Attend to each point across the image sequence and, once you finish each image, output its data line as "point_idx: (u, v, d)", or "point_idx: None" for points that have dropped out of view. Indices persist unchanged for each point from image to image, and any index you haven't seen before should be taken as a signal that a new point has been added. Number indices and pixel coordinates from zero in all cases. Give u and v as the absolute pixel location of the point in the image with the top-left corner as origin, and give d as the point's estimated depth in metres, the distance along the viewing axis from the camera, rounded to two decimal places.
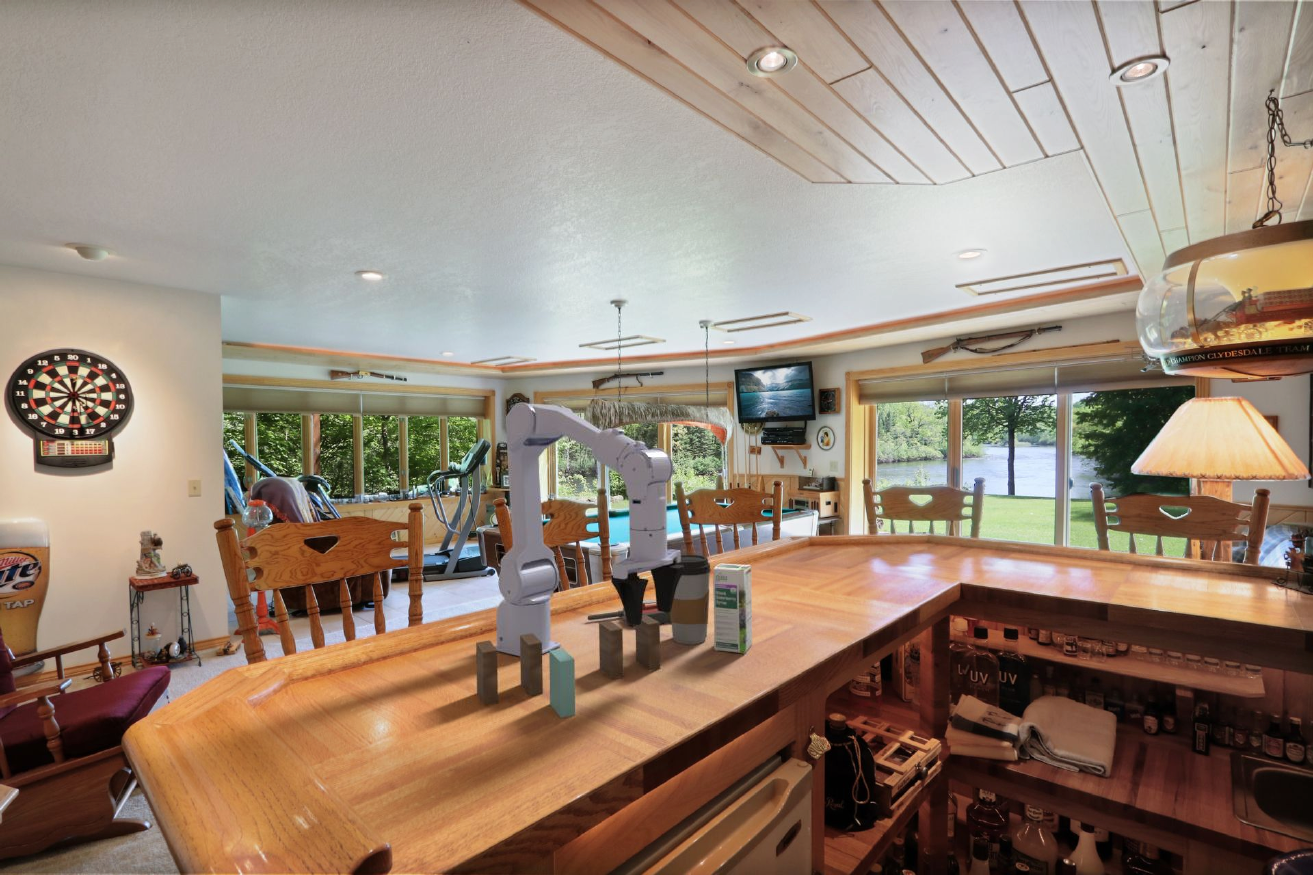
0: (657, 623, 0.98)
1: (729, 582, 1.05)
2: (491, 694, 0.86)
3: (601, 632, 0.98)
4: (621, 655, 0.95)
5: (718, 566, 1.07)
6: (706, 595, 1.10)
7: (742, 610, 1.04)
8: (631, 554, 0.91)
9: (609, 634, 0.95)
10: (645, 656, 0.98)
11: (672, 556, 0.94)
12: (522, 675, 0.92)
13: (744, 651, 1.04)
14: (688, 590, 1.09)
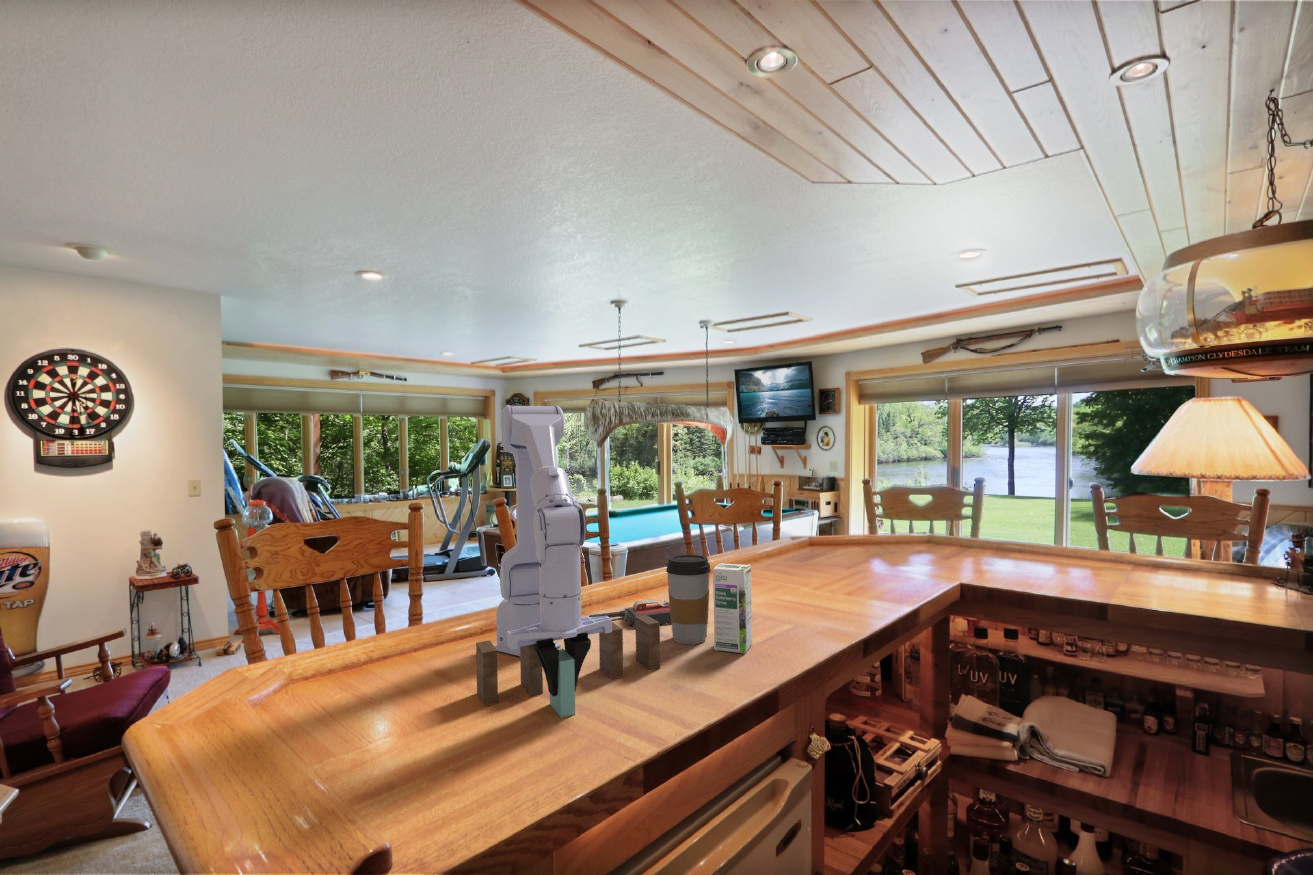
0: (657, 623, 0.98)
1: (729, 582, 1.05)
2: (491, 694, 0.86)
3: (601, 632, 0.98)
4: (621, 655, 0.95)
5: (718, 566, 1.07)
6: (706, 595, 1.10)
7: (742, 610, 1.04)
8: None
9: (609, 634, 0.95)
10: (645, 656, 0.98)
11: (590, 626, 0.84)
12: (522, 675, 0.92)
13: (744, 651, 1.04)
14: (688, 590, 1.09)
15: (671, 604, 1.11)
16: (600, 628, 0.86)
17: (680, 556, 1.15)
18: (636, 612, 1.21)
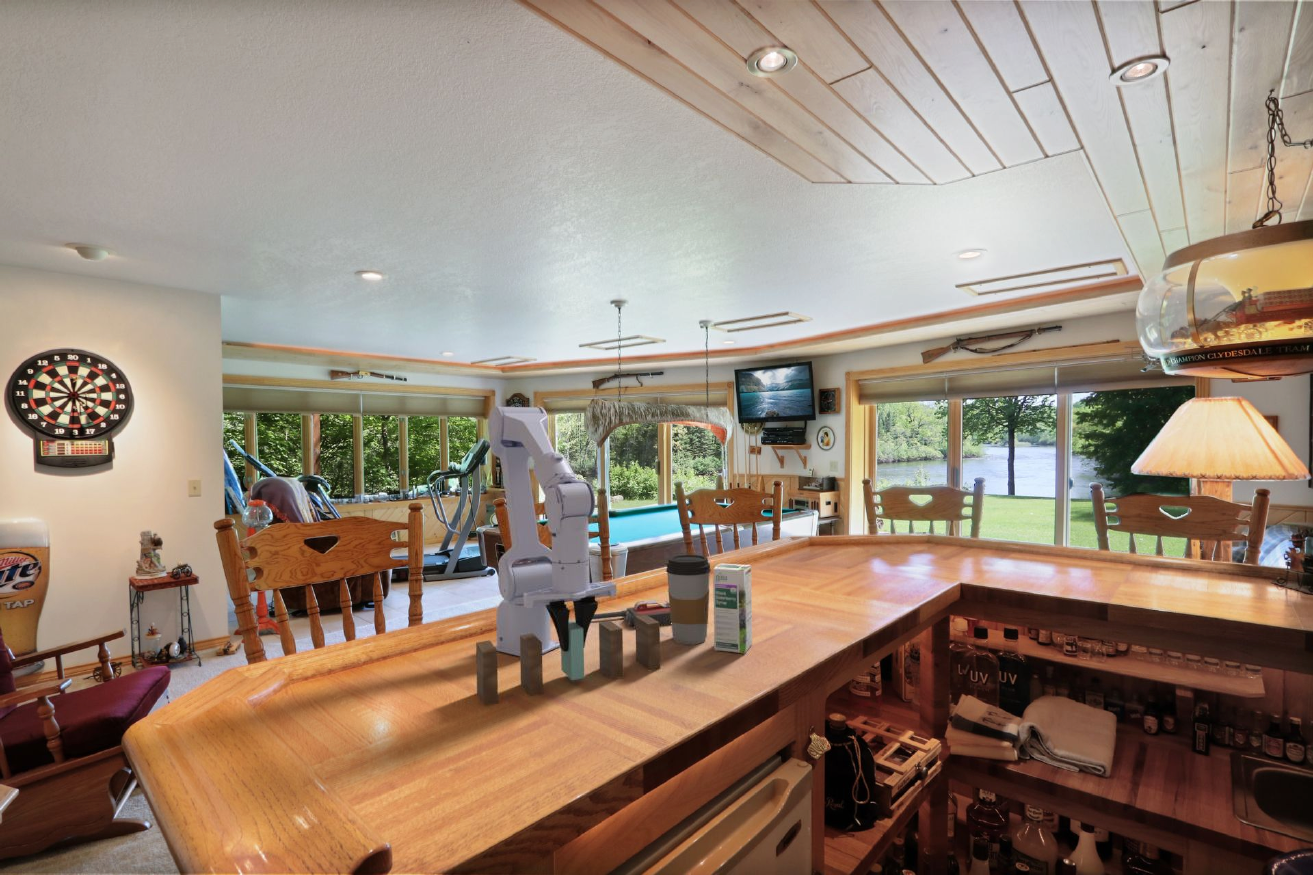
0: (657, 623, 0.98)
1: (729, 582, 1.05)
2: (491, 694, 0.86)
3: (601, 632, 0.98)
4: (621, 655, 0.95)
5: (718, 566, 1.07)
6: (706, 595, 1.10)
7: (742, 610, 1.04)
8: (552, 584, 0.94)
9: (609, 634, 0.95)
10: (645, 656, 0.98)
11: (597, 590, 0.94)
12: (522, 675, 0.92)
13: (744, 651, 1.04)
14: (688, 590, 1.09)
15: (671, 604, 1.11)
16: (606, 592, 0.97)
17: (680, 556, 1.15)
18: (637, 612, 1.21)
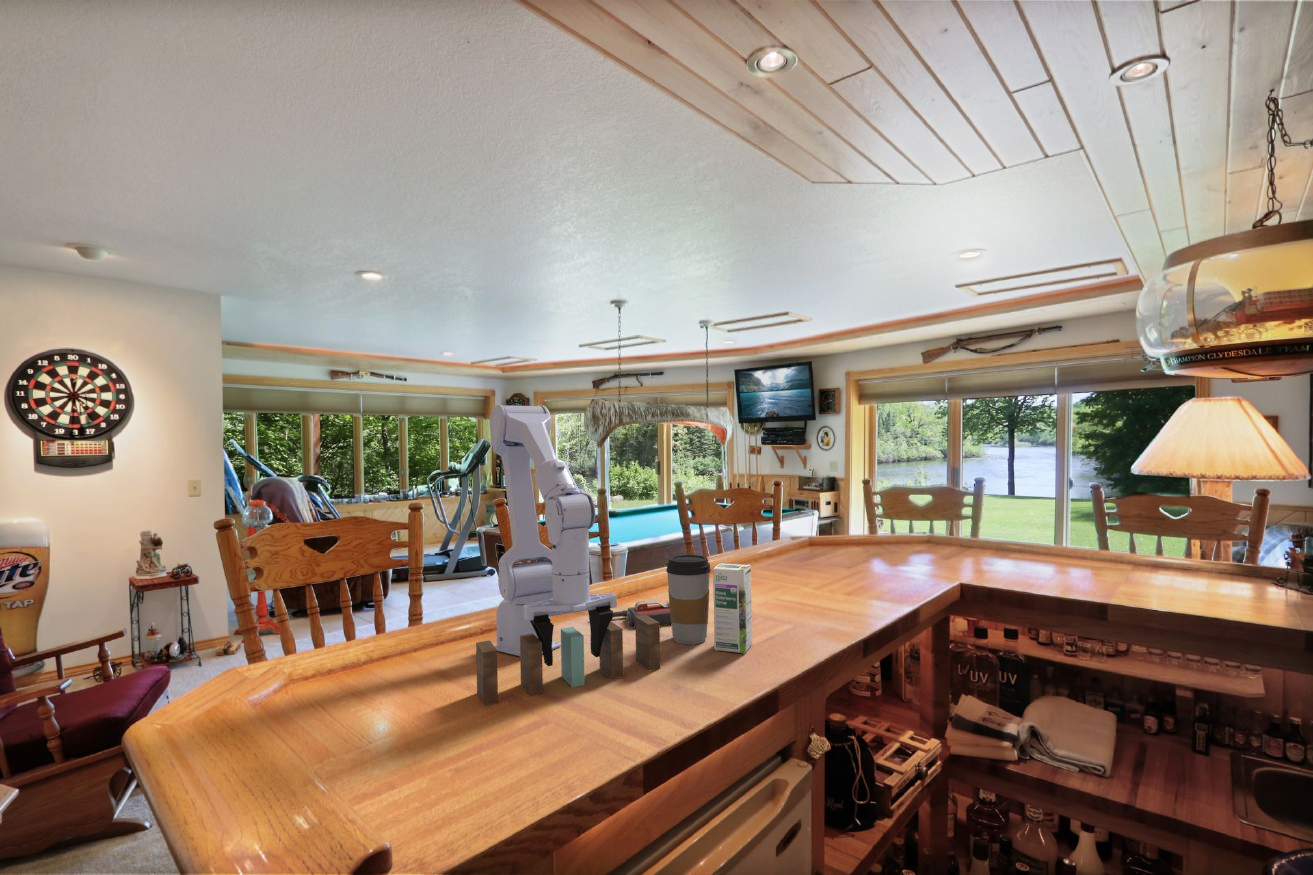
0: (657, 623, 0.98)
1: (729, 582, 1.05)
2: (491, 694, 0.86)
3: None
4: (621, 655, 0.95)
5: (718, 566, 1.07)
6: (706, 595, 1.10)
7: (742, 610, 1.04)
8: None
9: (609, 634, 0.95)
10: (645, 656, 0.98)
11: (597, 601, 0.94)
12: (522, 675, 0.92)
13: (744, 651, 1.04)
14: (688, 590, 1.09)
15: (671, 604, 1.11)
16: (606, 604, 0.97)
17: (680, 556, 1.15)
18: (637, 612, 1.21)
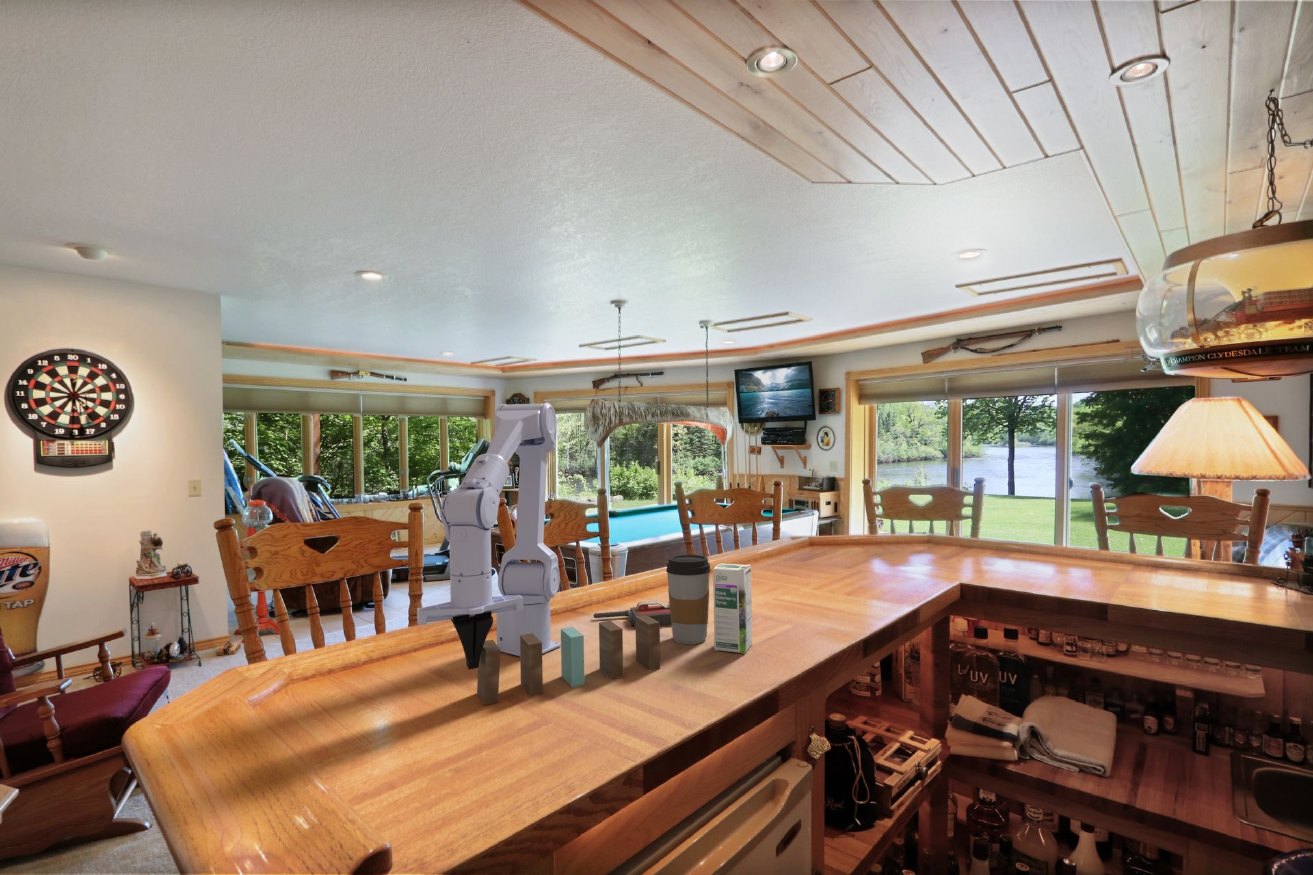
0: (657, 623, 0.98)
1: (729, 582, 1.05)
2: (492, 693, 0.86)
3: (601, 632, 0.98)
4: (621, 655, 0.95)
5: (718, 566, 1.07)
6: (706, 595, 1.10)
7: (742, 610, 1.04)
8: None
9: (609, 634, 0.95)
10: (645, 656, 0.98)
11: (499, 604, 0.87)
12: (522, 675, 0.92)
13: (744, 651, 1.04)
14: (688, 590, 1.09)
15: (671, 604, 1.11)
16: (512, 606, 0.90)
17: (680, 556, 1.15)
18: (637, 612, 1.21)
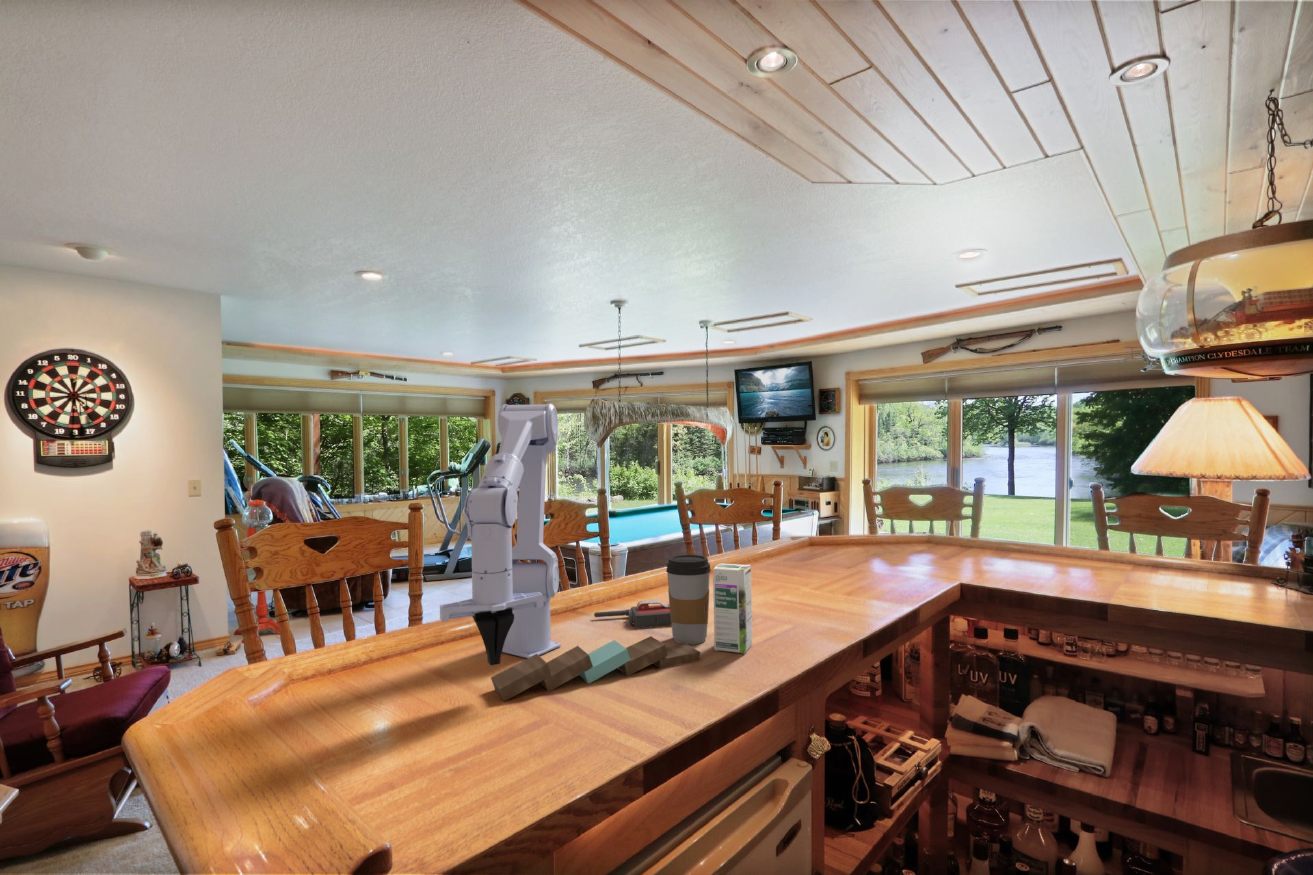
0: None
1: (729, 582, 1.05)
2: (511, 691, 0.87)
3: (646, 641, 1.01)
4: (645, 665, 0.97)
5: (718, 566, 1.07)
6: (706, 595, 1.10)
7: (742, 610, 1.04)
8: None
9: (659, 645, 0.99)
10: (667, 654, 1.00)
11: (520, 601, 0.88)
12: None
13: (744, 651, 1.04)
14: (688, 590, 1.09)
15: (671, 604, 1.11)
16: (532, 603, 0.91)
17: (680, 556, 1.15)
18: (637, 612, 1.21)
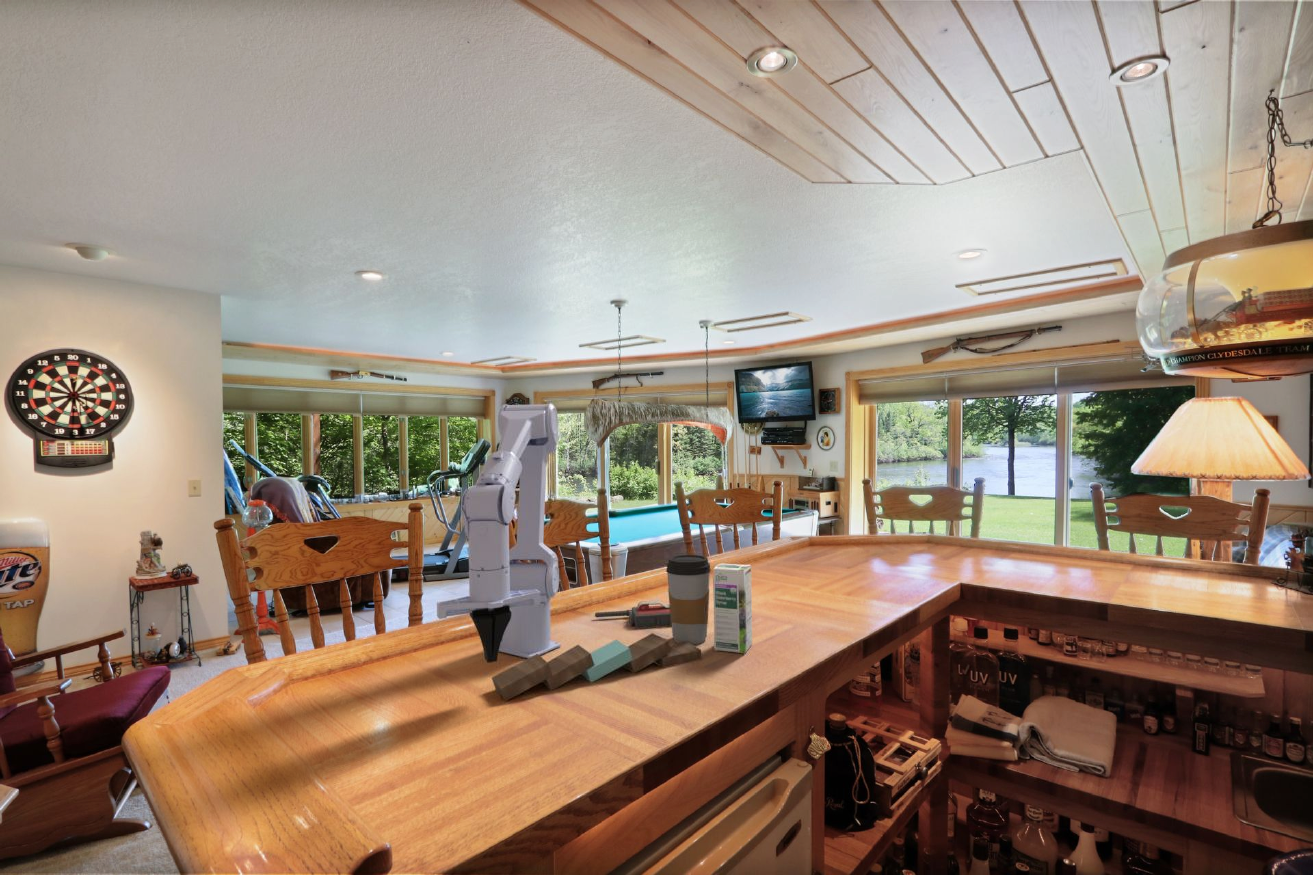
0: None
1: (729, 582, 1.05)
2: (512, 690, 0.87)
3: (649, 638, 1.02)
4: (650, 661, 0.98)
5: (718, 566, 1.07)
6: (706, 595, 1.10)
7: (742, 610, 1.04)
8: None
9: (662, 641, 1.00)
10: (668, 653, 1.01)
11: (517, 598, 0.88)
12: None
13: (744, 651, 1.04)
14: (688, 590, 1.09)
15: (671, 604, 1.11)
16: (529, 601, 0.91)
17: (680, 556, 1.15)
18: (638, 612, 1.21)
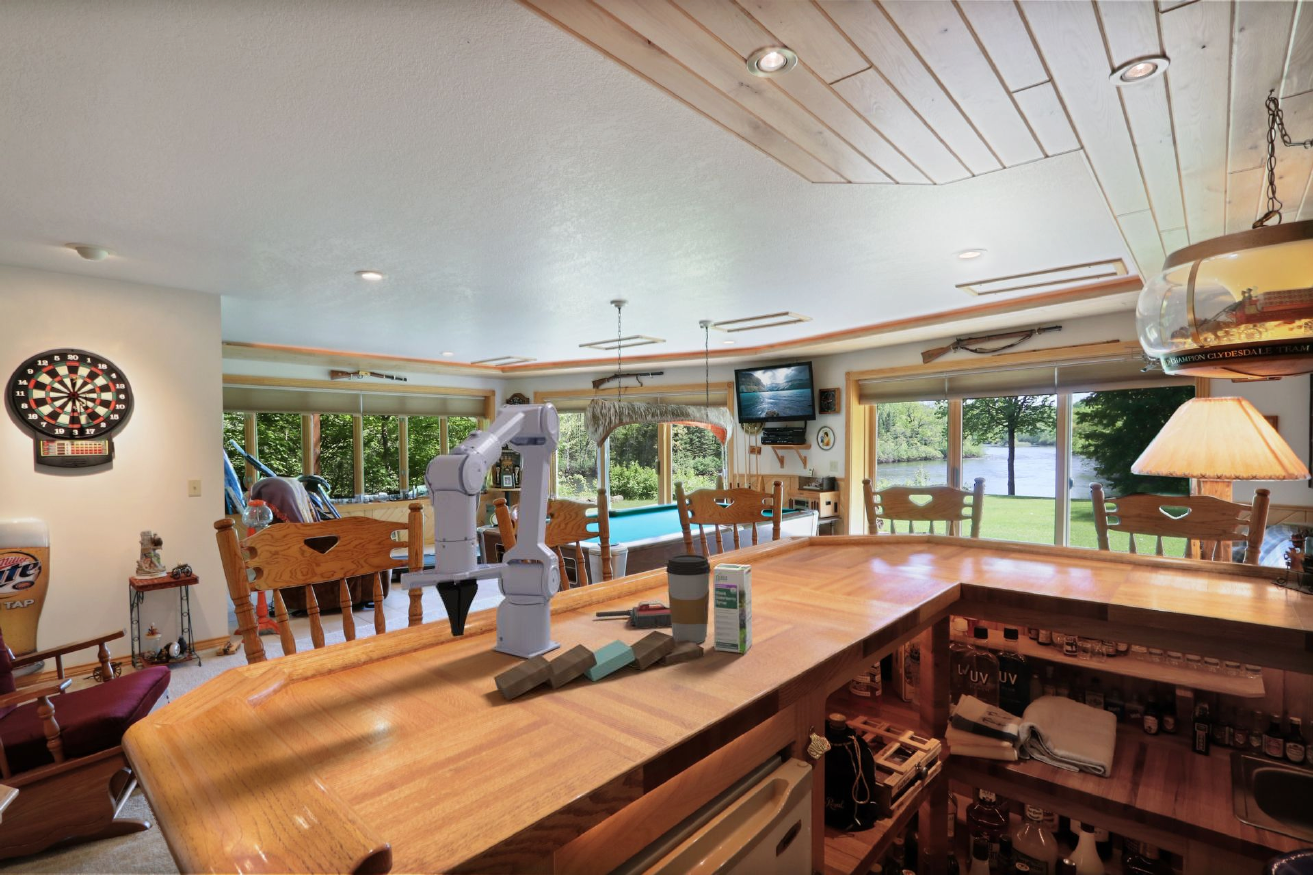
0: None
1: (729, 582, 1.05)
2: (515, 690, 0.87)
3: (652, 635, 1.04)
4: (657, 658, 0.99)
5: (718, 566, 1.07)
6: (706, 595, 1.10)
7: (742, 610, 1.04)
8: None
9: (667, 637, 1.01)
10: (672, 651, 1.01)
11: (484, 571, 0.86)
12: None
13: (744, 651, 1.04)
14: (688, 590, 1.09)
15: (671, 604, 1.11)
16: (497, 574, 0.89)
17: (680, 556, 1.15)
18: (638, 612, 1.21)
